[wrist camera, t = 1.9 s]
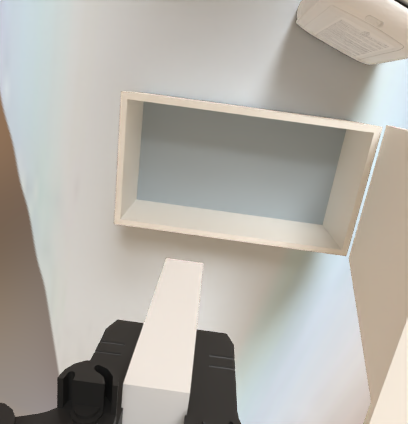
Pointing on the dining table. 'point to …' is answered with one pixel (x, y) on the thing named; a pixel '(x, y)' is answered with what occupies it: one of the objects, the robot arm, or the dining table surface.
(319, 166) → the box
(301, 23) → the photo printer
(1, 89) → the dining table surface
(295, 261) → the dining table surface
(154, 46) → the dining table surface
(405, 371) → the mailer lid
